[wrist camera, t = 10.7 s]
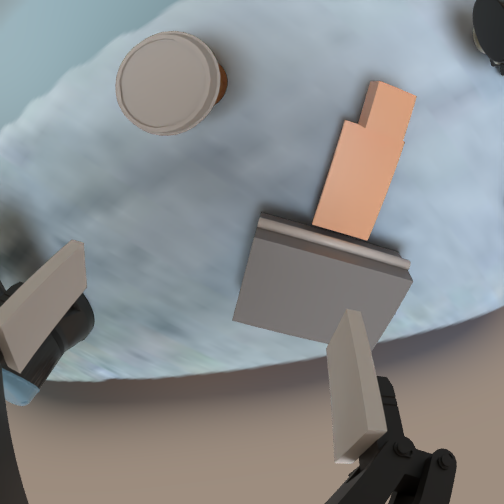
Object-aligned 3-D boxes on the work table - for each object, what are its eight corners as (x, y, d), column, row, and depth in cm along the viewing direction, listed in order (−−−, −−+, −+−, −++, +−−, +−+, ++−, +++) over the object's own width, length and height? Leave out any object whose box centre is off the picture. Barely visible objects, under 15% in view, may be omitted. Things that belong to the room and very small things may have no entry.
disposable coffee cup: (255, 99, 33) (237, 104, 23) (184, 135, 36) (140, 157, 26) (219, 31, 30) (184, 8, 19) (150, 70, 33) (95, 69, 22)
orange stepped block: (366, 238, 37) (372, 254, 34) (311, 222, 37) (313, 237, 34) (416, 100, 28) (429, 102, 25) (356, 76, 29) (364, 75, 25)
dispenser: (364, 319, 46) (370, 352, 40) (241, 288, 46) (232, 320, 40) (401, 245, 39) (416, 274, 33) (263, 205, 40) (256, 228, 33)
